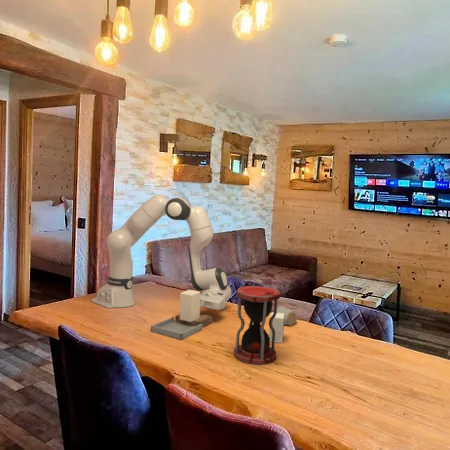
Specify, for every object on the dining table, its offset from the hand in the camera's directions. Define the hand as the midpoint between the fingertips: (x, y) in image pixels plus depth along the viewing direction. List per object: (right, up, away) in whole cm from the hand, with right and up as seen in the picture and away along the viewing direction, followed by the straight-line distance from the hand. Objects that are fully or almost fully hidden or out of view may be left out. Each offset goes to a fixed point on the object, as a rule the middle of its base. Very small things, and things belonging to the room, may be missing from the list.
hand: (194, 304), depth 190 cm
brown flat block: (0, -8, +1) cm, 9 cm away
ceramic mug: (+43, -10, +8) cm, 45 cm away
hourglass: (+25, -13, -33) cm, 43 cm away
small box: (+36, -12, -14) cm, 40 cm away
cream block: (-2, -6, -2) cm, 6 cm away
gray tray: (-7, -9, -10) cm, 15 cm away
